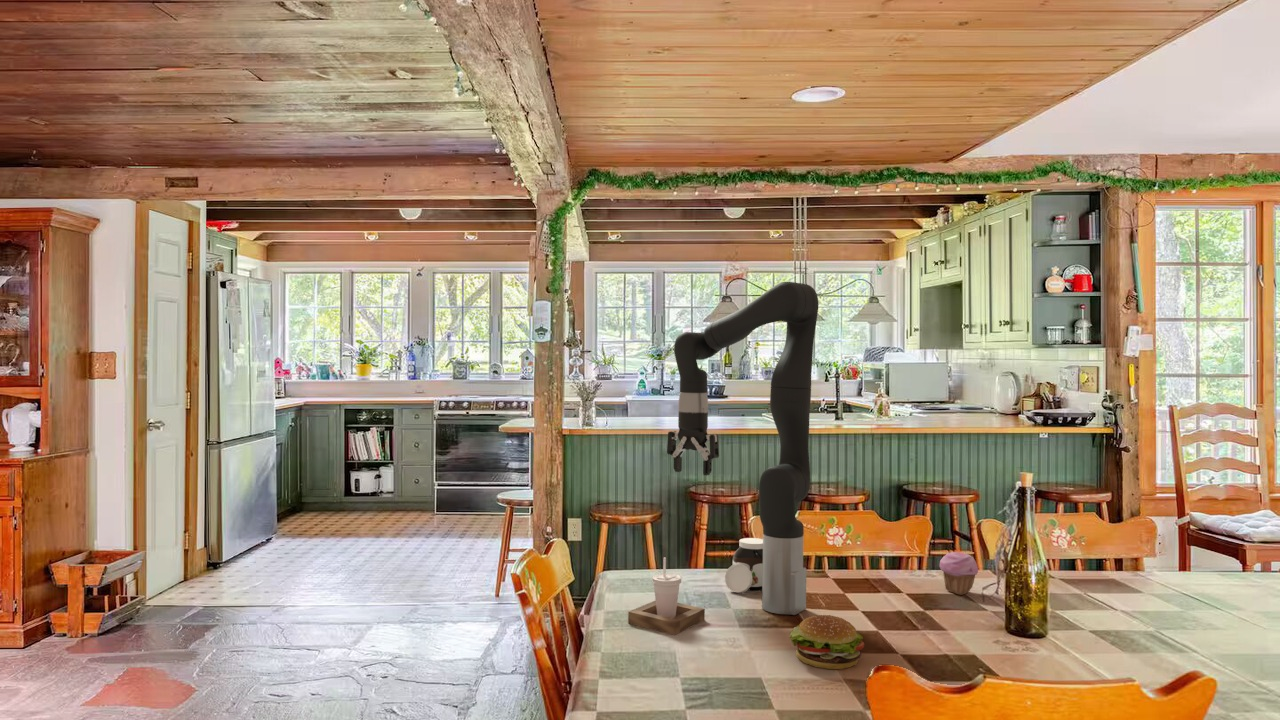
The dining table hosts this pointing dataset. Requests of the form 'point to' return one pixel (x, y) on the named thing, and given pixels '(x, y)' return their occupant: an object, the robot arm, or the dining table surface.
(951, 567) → the cupcake
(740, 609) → the dining table surface
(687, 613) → the walnut socket block
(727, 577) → the spread jar
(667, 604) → the smoothie
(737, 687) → the dining table surface
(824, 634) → the food
